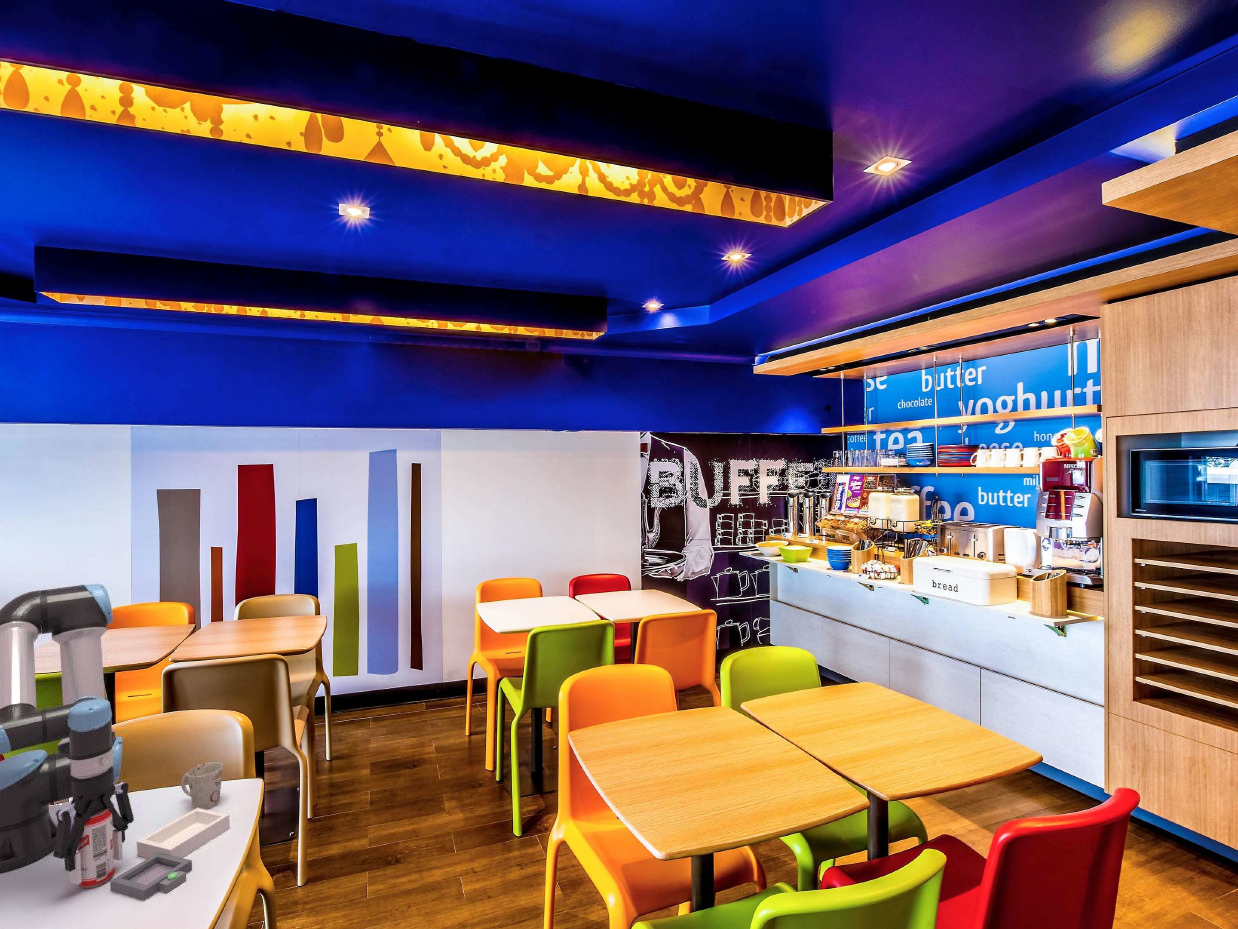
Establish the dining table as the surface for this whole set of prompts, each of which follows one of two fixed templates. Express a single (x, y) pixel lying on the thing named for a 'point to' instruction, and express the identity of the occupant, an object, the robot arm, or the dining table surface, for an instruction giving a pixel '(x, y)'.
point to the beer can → (97, 850)
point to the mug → (204, 784)
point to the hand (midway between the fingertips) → (96, 870)
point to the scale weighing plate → (151, 874)
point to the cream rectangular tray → (184, 834)
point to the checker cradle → (160, 884)
